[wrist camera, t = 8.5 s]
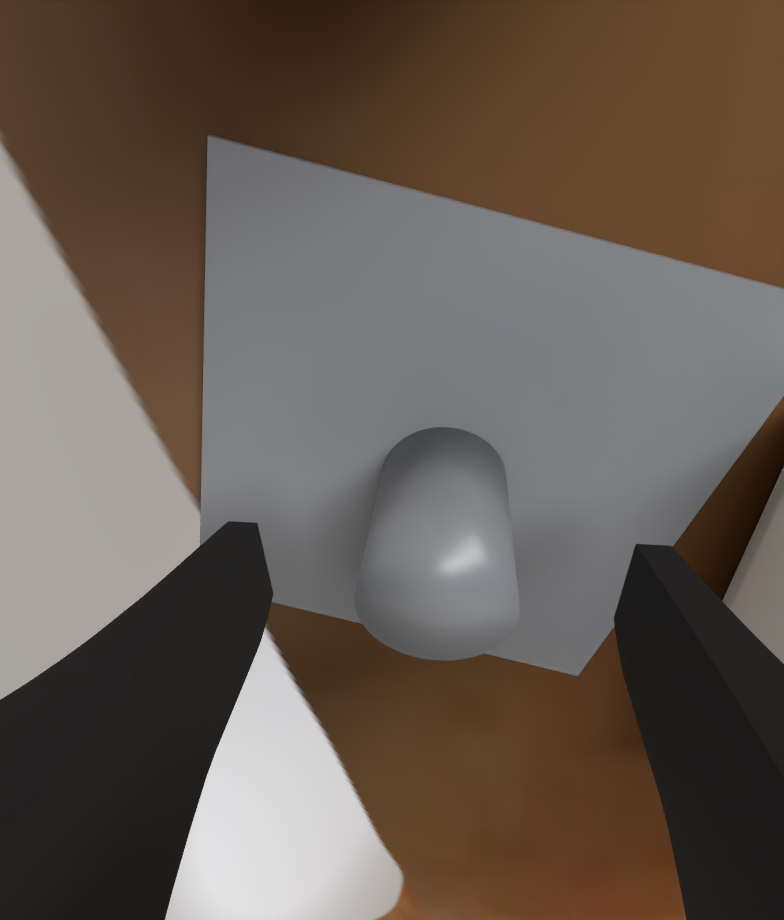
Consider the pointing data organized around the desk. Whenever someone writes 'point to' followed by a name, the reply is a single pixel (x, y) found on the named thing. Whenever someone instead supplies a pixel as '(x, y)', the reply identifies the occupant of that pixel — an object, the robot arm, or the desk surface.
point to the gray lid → (460, 405)
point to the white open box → (763, 577)
